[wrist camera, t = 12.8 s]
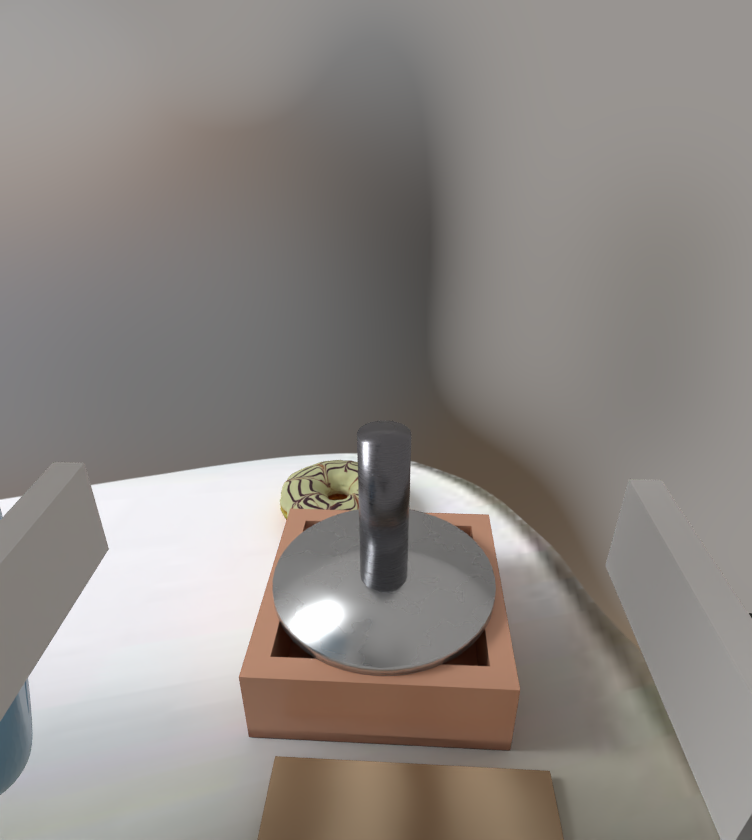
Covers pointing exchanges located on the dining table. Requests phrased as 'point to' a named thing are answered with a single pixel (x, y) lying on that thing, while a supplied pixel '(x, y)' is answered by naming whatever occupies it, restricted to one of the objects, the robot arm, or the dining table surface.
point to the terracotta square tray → (382, 678)
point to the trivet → (406, 802)
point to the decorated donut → (322, 487)
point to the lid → (384, 575)
